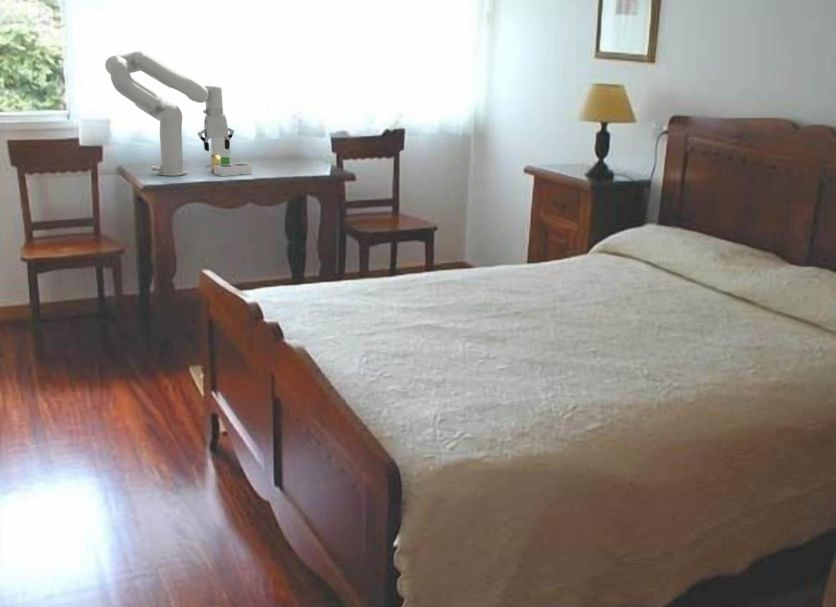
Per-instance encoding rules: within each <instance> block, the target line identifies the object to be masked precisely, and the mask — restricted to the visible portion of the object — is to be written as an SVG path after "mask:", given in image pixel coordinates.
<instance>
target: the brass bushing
mask: <svg viewBox="0 0 836 607" xmlns="http://www.w3.org/2000/svg"><path fill="white" fill-rule="evenodd" d="M214 165H221V156H220V154H210V169H211V170H210V172H211V173H212V172H214Z"/></svg>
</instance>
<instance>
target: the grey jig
mask: <svg viewBox="0 0 836 607" xmlns="http://www.w3.org/2000/svg"><path fill="white" fill-rule="evenodd" d="M252 168H253V166H252V165H251V164H248V163H245V162H243V163H242V162H241V163H230V164H225V165H214V173H215V174H214V173H213V174H214V175H216V174H217V175H216V176H219V175H220V176H219V177H231V176H230V175H235V176H240V175H239V174H249V175H253V171H252V170H253V169H252Z"/></svg>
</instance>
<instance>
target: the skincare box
mask: <svg viewBox="0 0 836 607" xmlns="http://www.w3.org/2000/svg"><path fill="white" fill-rule="evenodd" d="M229 134H230V132H228V135H229ZM210 142H211V143H210V145H211V147H210V149H211V154H220V156H221V165H225V164H231V140H230V141H229V145H230V147H229V149H225V138H224V137H221V138H210ZM211 154H210V155H211Z"/></svg>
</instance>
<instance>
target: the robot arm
mask: <svg viewBox="0 0 836 607" xmlns="http://www.w3.org/2000/svg"><path fill="white" fill-rule="evenodd" d="M104 66H105V70H106V72H107V73H108V74H109V75H110V80H111V83H112V86H113V87H114V88H115V90H116V91H117V92H118V93H119V94H120V95H122V96H123V97H125V98H126V99H128V100H129V101H131V102H132V103H134V105H135V106H136V107H137V108H138V109H140V110H141V111H143V113H144V112H145V113H146V114H148V115H149V116H151V117H152V118H154V119H156V120H157V121H159V143H160V157H161V158H160V161H161V162H160V163H158V165H156V166H155V165H152V166H150V171H156V172H157V171H158V175H159V176H166V177H167V176H169V177H177V176H179V177H180V176H185V175H187V174H188V171H187V170H186V169H184V157H183V154H184V153H183V133H182V131H183V130H182V129H183V128H182V125H183V113H182V110H181V109H180V107H179V105H177V104H176V103H174V102H173V103H172V102H169V101H168V100H166V99H164V98H163V97H161V96H159V95H158V93H156V92H155V91H154V90H153V89H150V88H148V87H146V86H145V85H143V84H142V83H140V82H139V81H138V80H136V79H135V78H133V77H132V74H131V73H137V72H140V71H141V72H142V73H144V74H146V75H147V76H149V77H151V78H153V79H154V80H155V81H157V82H159V83H160V84H162V85H164V86H166V87H168V88H170V89H174V90H176V91H177V92H180V93H182V94H183V95H185V96H187V98H188V99H189V100H190V101H192V102H195V103H201V104H202V103H205V109H204V110H203V111H202V112H203V114H205V116H204V122H203V125H204V126H203V129H202V130H200V131H198V132H197V136H198V137H199V139H200V140H201V141H202V142H203V146H204V147H203V148H204V150H205V151H206V152H209V151H210V144H209V140H211V138H221V137H224V138H225V149H229V147H230V148H231V144H230V145H229V141H230V142H231V139H232V137H233V135H234V133H235V130H234V129H231V128H229V127H228V123H227V116H226V114H224V107H223V92H222V90H223V89H222V86H221V85H220V84H214V83H212V84H211V83H209V84H201V83H199V82H197V81H196V80H194V79H192V78H191V77H189V76H188V75H185V74H184V73H182V72H181V71H180V70H178V69H176V68H175V67H173V66H171V65H170V64H168V63H166V62H165V61H163V60H161V59H160V58H158V57H156V56H155V55H154V54H152V53H151V52H148V51H145V50H138V51H133V52H128V53H122V54H118V55H112V56H110V57H109V58H107V59H106V61H105V65H104ZM228 133H229V135H228ZM203 134H204V136H203Z"/></svg>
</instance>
